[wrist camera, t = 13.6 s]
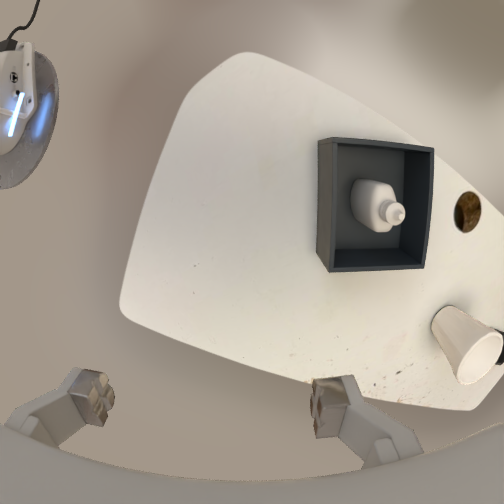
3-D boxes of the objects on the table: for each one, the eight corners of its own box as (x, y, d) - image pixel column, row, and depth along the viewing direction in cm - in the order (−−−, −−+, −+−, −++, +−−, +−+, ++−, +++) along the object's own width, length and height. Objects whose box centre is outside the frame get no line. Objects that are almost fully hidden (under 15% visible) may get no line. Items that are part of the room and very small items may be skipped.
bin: (317, 140, 36) (332, 137, 29) (405, 147, 36) (434, 147, 29) (315, 252, 41) (328, 272, 34) (399, 250, 41) (424, 268, 33)
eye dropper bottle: (383, 188, 37) (428, 202, 26) (364, 224, 39) (404, 250, 27) (357, 173, 37) (397, 181, 25) (338, 210, 38) (372, 232, 27)
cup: (447, 345, 46) (480, 385, 34) (412, 339, 46) (445, 385, 33) (471, 300, 44) (512, 335, 31) (438, 289, 43) (481, 328, 30)
